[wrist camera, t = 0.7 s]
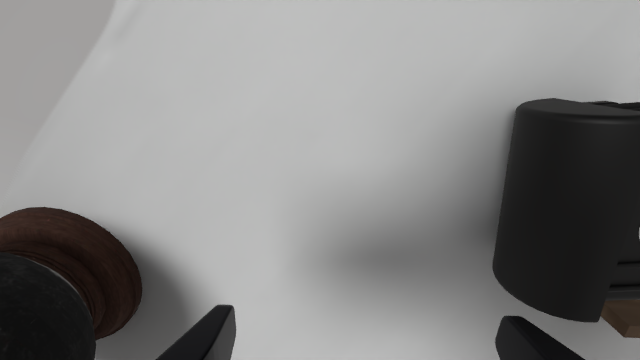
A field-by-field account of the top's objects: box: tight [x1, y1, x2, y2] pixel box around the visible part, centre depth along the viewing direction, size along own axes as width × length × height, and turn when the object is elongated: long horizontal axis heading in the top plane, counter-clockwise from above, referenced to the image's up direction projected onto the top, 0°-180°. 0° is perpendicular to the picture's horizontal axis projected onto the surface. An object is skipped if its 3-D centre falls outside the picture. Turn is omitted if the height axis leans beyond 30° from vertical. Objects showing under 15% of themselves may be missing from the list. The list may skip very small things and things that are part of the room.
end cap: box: [493, 98, 640, 322], centre depth 16 cm, size 10×7×7 cm
